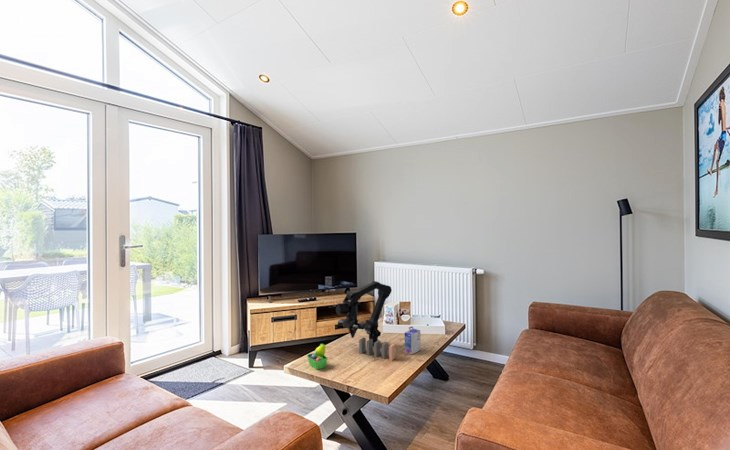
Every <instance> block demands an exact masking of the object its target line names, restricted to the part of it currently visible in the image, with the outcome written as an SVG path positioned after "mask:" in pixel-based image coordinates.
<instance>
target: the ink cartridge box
mask: <svg viewBox="0 0 730 450" xmlns="http://www.w3.org/2000/svg"><path fill="white" fill-rule="evenodd" d="M421 342H422V341H421V330H420V329H417V328H414V327H413V326H408V331H405V332H404V350H405V351H404V352H405V353H406V354H409V355H413V354H416V353H417V352H419V351H421V348H422V347H421V346H422V345H421Z"/></svg>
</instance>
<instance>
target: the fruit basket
mask: <svg viewBox="0 0 730 450" xmlns="http://www.w3.org/2000/svg"><path fill="white" fill-rule="evenodd" d="M314 351H315V352H312V353H308V354H307V355H306V357H307V360H308V363H309V365H310V366H312V367H313V368H314V369H315V370H316V371H317V370H320V369H323V368H326V365H327V361H328V357H327V356H325V355H326V345H325V344H324V343H320V344H319V346H318V347H316V348H315V350H314Z"/></svg>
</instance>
